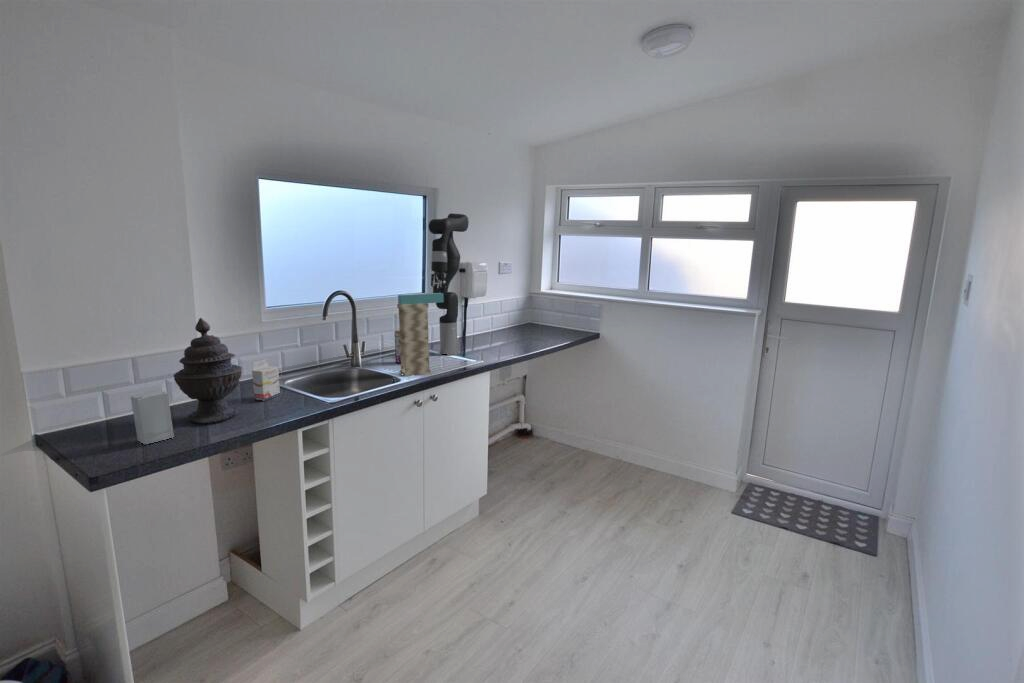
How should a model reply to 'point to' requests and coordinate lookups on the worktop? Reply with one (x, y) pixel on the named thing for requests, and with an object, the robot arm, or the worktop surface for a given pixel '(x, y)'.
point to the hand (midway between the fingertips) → (438, 295)
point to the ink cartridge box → (265, 379)
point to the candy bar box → (397, 346)
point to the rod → (420, 298)
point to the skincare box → (152, 416)
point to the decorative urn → (208, 376)
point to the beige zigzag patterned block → (414, 339)
